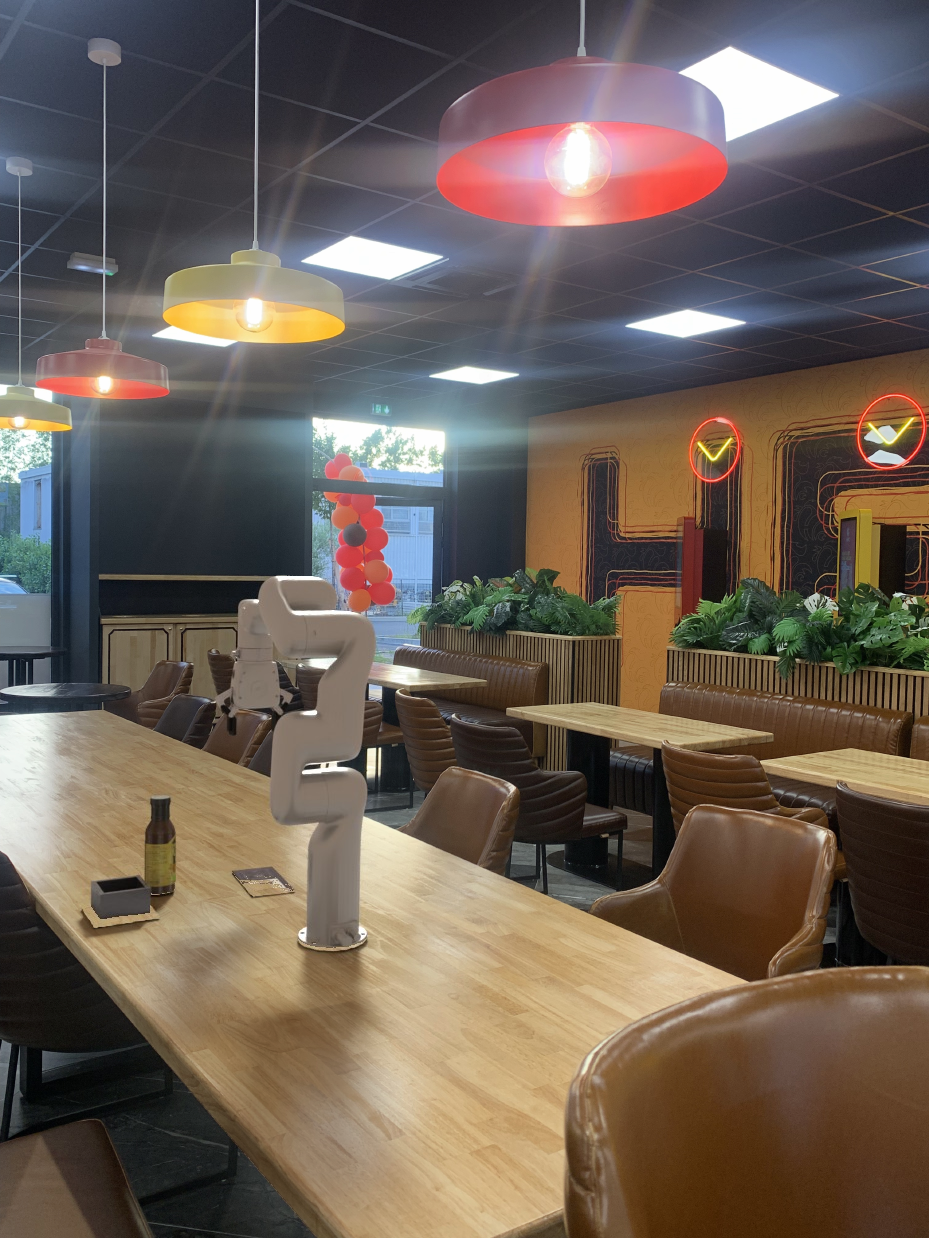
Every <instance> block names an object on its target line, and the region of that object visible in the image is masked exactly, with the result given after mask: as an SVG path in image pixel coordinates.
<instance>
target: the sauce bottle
mask: <svg viewBox="0 0 929 1238" xmlns="http://www.w3.org/2000/svg"><path fill="white" fill-rule="evenodd" d="M171 801H172V799H171V796H170V795H166V794H165V795H164V794H162V795H161V794H159V795H153V796H151V797H150V799H149V804H150V808H151V809H150V811H151V812H150V821H149V823H148V824H147V826H146V828H145V830H144V854H143V855H144V859H143V860H144V862H143V863H144V865H143V866H144V868H143V869H144V875H143V876H144V878H143V880H144V881H145V882H146V883H147V884H148V886H149V887H150V888H151V893H152V894H162V893H167V892H172V891H173V892H174V891H175V890H176V882H177V831H176V827H175V825H174V823H173V822H172V820H171V819H170V818H171V814H170V810H171V809H170V808H171ZM174 889H175V890H174ZM173 892H172V893H173Z"/></svg>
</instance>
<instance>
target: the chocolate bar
mask: <svg viewBox="0 0 929 1238" xmlns="http://www.w3.org/2000/svg"><path fill="white" fill-rule="evenodd" d="M232 872H233V873H234V874H235V876H236V877H237V878H238V879H239V880H250V881H251V880H259V881H263V880H270V881H272V882H273V883H272V882H269V881H267V882H268V883H270V884H273V885H274V884H280V885H282V887H281V886H280V885H279V886H278V887H280V888H289V889H291V890H292V891H293V890H295V888H293V886H292V885H290V883H289V882H288V881H287V880H285V879H286V878H284V877H283V876H282V875H281V874H280V873H279V872H278V870H276V869H275V868H274V867H273V866H265V867H264V866H263V867H257V868H254V867H253V868H246V869H237V870H232V871H231V873H232ZM235 876H234V877H235ZM246 876H247V877H246ZM257 876H258V877H257ZM264 876H265V877H267V878H265V877H264ZM269 876H271V877H269ZM236 877H235V878H236ZM275 877H276V878H275ZM247 878H248V879H247ZM273 880H274V881H273ZM276 880H278V881H276ZM279 881H280V882H279ZM241 882H242V881H241ZM252 882H254V881H252ZM255 882H256V881H255ZM255 882H254V884H255ZM275 882H276V883H275ZM244 883H250V882H245V881H243V882H242V884H244ZM256 883H259V882H256ZM268 883H266V884H268ZM250 884H253V883H250ZM260 884H265V883H262V882H260ZM285 884H287V885H285ZM288 884H289V885H290V886H289V885H288ZM276 886H277V885H276ZM273 888H274V887H273ZM275 888H277V887H275ZM292 888H293V889H292ZM283 890H284V889H283ZM291 890H290V891H291ZM285 891H288V890H285Z"/></svg>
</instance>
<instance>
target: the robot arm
mask: <svg viewBox="0 0 929 1238" xmlns="http://www.w3.org/2000/svg"><path fill="white" fill-rule="evenodd" d="M337 603H338V594H337V590H336V589H335V587H334V586H333V585H332V583H330V582H329V581H328V580H326V579H324V578H320V577H316V576H302V575H301V576H297V575H296V576H293V575H292V576H290V575H288V576H287V575H276V576H271V577H270V578H267V579H266V580H265V581H264V582H263V583H262V584H261V586H260V588H259V592H258V597H257V599H255V598H254V599H253V598H252V599H243V600H241V601H240V602H239V603H238V608H237V609H238V613H237V617H238V618H237V647H236V649H235V650H231V651H230V656H231V657H232V658H236V660H237V661H235V662H234V664H233V669H232V674H231V680H230V688H228V689H227V690H225V691H223V692H222V693H220V694H218V695H215V697H214V700H215V703H216V704H217V706H218V709H219V710H220V711H221V712H222V713H223V714H224V716H226V731H227V732H228V735H230V736H233V737H234V736H236V735H237V717H236V715H237V713H238V712H239V711H240V709H244V710H245V709H248V710H249V709H252V710H253V709H265V708H267V709H269V708H270V709H271V710H272V712H273V713H272V712H271V717H270V718H271V719H270V731H271V732H273V736H272V742H271V743H272V748H271V765H270V766H271V767H270V781H269V806H270V807H269V808H270V813H271V816H272V817H273V819H274V821H275V822H276V823H277V824H279V825H282V826H285V827H286V826H301V825H308V824H309V825H311V824H317V823H318V824H317V826H316V827H315V828H314V830H313V832H312V834H311V836H310V838H309V842H308V845H307V876H306V877H307V879H306V880H307V881H306V882H307V883H306V884H307V885H306V926H305V927H303V928H301V929H300V930H299V932H298V933H297V940H298V939H299V940H300V941H301V942H303V943H305V944H307V945H310V946H315V947H326V948H333V947H334V948H336V947H349V946H351V945H355V944H357V943H361V942H363V941H364V940H365V939H366V938H367V939H368V931H367V930H366V929H365V928H364V927H363V926H361V925H360V899H361V898H360V896H361V893H360V891H361V847H362V846H361V845H362V828H363V820H364V815H365V810H366V805H367V799H368V785H367V782H366V779H365V777H364V776H363V774H362V773H361V772H360V771H358V770H356V769H354V768H351V767H348V766H347V767H345V766H336V767H335V766H333V767H323V768H321V767H320V768H315V769H314V768H313V769H305V767H307V766H309V765H319V764H320V765H321V764H333V763H341V762H346V761H351V760H353V759H355V758H357V757H358V755H359V753H360V751H361V749H362V744H363V743H362V742H363V732H364V722H365V705H366V704H365V703H366V690H367V683H368V680H369V676H370V673H371V670H372V667H373V663H374V660H375V655H376V650H377V638H376V633H375V628H374V625H373V623H372V621H371V620H370V619H369V618H368V617H367V616H365V614H361V613H359V612H355V611H349V610H348V611H345V610H335V609H336V606H337ZM274 646H275V648H276V649H277V651H278V652H279V654H281V655H282V656H283V657H286V658H288V659H323V658H336V659H335V660H334V661H333V662H332V663H331V664H330V666H328V668H327V669H326V670H325V672H324V673H323V674H322V676H321V678H320V680H319V682H318V685H317V698H316V700H317V701H316V706H315V708H314V709H312V710H298V711H297V710H296V711H290V712H287V713H285V714H284V712H285V711H286V709H287V708H289V705H290V703H291V701H292V699H293V697H294V695H293V694H292V693H290V692H288V691H287V690H285V689H283V688H280V678H279V671H278V665H277V662H276V661H273V659H274V657H273V651H274V648H273V647H274ZM281 696H282V697H283V700H282V702H280V701H281ZM228 698H230V699H229V702H230V706H229V707H228V706H227V705H226V703H225V700H226V699H228ZM313 943H316V944H313Z"/></svg>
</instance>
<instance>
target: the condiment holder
mask: <svg viewBox="0 0 929 1238" xmlns="http://www.w3.org/2000/svg"><path fill="white" fill-rule="evenodd" d="M151 897H152V896H151V888H150V887H149V886H148V884H147V883H146V882H145V881H144V878H143V877H142V876H141V875H140V874H138V875H131V876H130V875H128V876H122V877H114V878H106V879H99V880H91V881H90V904H91V907H92V908H93V910H94V911H95V913H96V914H97V915H98V917H99V918H100V919H107V918H112V917H119V916H128V915H138V914H145V913H150V904H151Z"/></svg>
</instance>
